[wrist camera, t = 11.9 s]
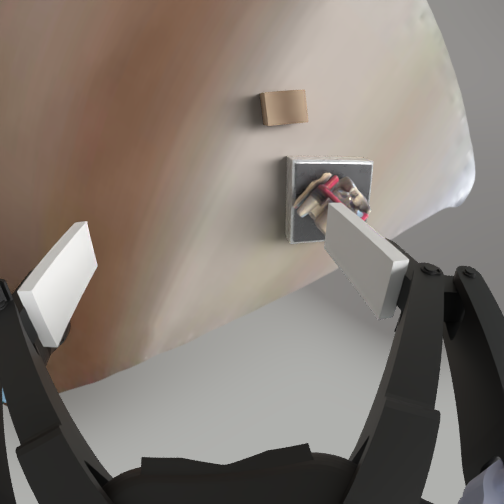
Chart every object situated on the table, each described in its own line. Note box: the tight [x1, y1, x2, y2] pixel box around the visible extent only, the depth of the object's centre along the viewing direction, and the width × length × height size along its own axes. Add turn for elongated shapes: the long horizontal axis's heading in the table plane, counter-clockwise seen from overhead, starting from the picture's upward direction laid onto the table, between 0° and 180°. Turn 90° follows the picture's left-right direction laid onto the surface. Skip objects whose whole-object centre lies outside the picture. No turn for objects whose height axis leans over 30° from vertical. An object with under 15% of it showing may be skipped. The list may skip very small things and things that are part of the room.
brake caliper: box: [293, 173, 371, 236], centre depth 44 cm, size 11×11×12 cm
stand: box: [285, 156, 373, 244], centre depth 49 cm, size 14×14×4 cm
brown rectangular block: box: [260, 90, 308, 126], centre depth 41 cm, size 6×5×4 cm
